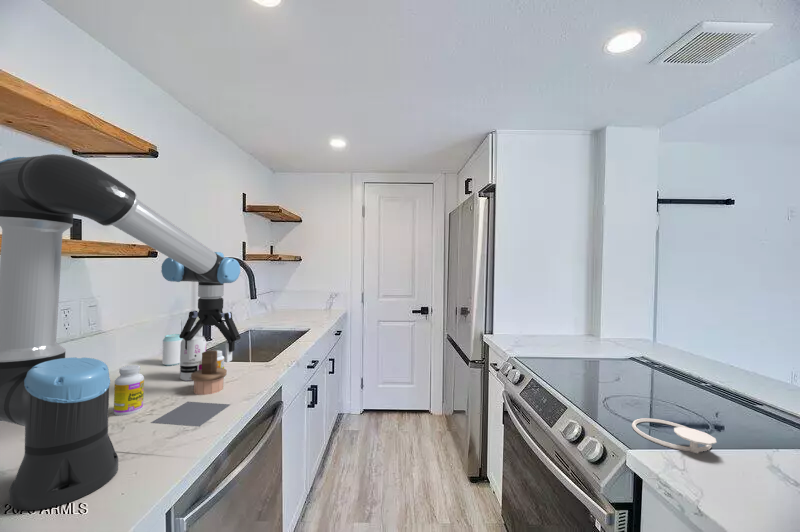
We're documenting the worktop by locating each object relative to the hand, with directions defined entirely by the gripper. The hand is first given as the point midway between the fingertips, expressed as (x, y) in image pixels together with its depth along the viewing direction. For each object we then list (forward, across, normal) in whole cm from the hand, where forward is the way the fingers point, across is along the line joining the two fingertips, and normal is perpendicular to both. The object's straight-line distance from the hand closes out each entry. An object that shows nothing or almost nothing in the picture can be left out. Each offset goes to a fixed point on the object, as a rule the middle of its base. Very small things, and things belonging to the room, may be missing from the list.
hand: (209, 360), depth 114 cm
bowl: (+10, 0, 0) cm, 10 cm away
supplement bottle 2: (+10, +5, -11) cm, 16 cm away
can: (+10, +34, -25) cm, 44 cm away
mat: (+10, -7, +17) cm, 21 cm away
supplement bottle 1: (+10, +12, +18) cm, 24 cm away
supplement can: (+10, +14, -11) cm, 21 cm away
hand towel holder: (+11, -139, +12) cm, 140 cm away
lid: (+5, 0, 0) cm, 5 cm away
